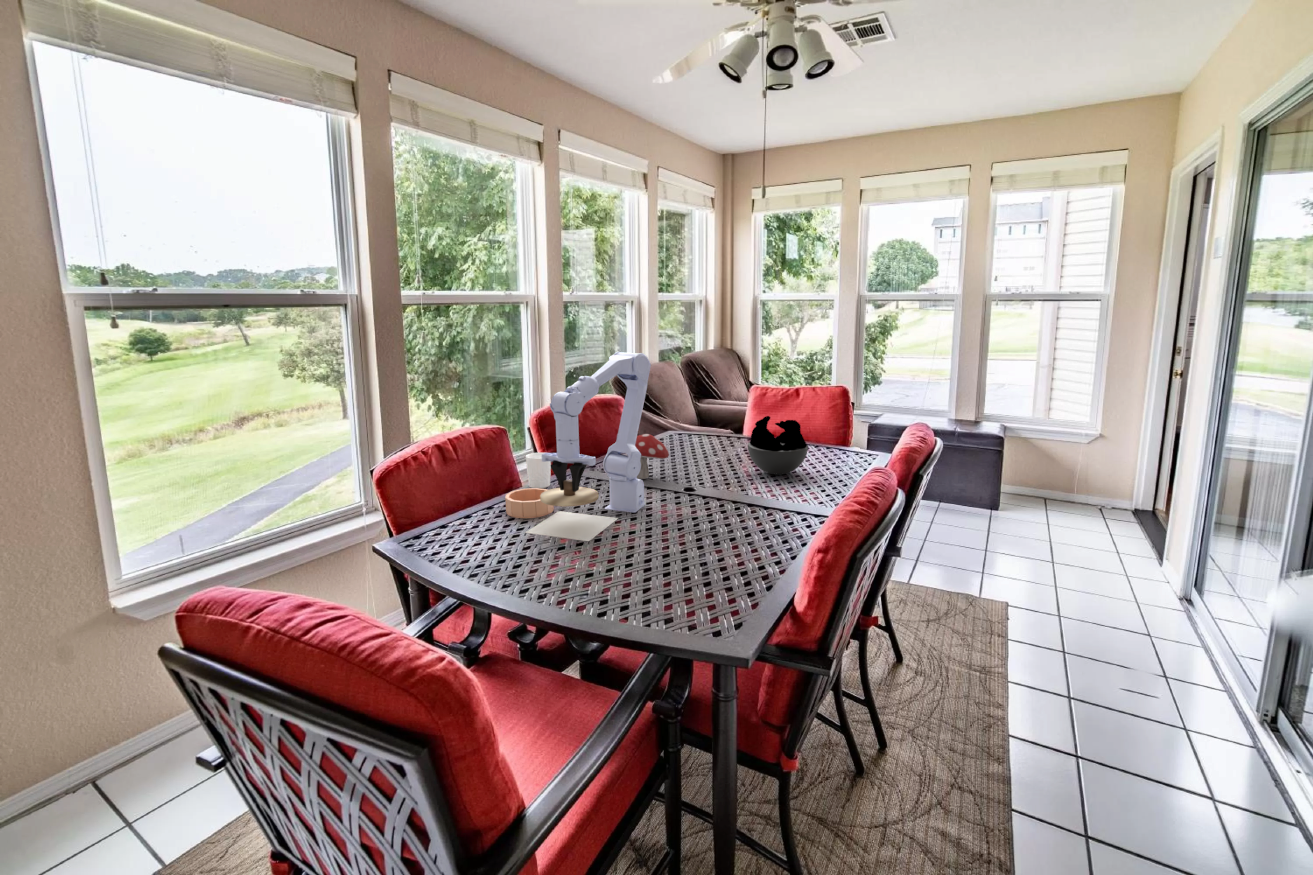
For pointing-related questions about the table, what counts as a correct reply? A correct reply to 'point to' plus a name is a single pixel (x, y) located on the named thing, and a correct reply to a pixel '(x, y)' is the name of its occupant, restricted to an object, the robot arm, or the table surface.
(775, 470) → the coal bowl
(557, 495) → the oak lid
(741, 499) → the table surface
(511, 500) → the terracotta bowl
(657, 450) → the decorative mushroom
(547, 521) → the white square mat
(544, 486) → the white cup
